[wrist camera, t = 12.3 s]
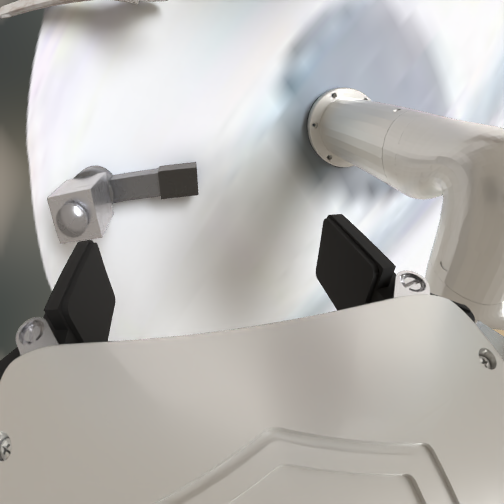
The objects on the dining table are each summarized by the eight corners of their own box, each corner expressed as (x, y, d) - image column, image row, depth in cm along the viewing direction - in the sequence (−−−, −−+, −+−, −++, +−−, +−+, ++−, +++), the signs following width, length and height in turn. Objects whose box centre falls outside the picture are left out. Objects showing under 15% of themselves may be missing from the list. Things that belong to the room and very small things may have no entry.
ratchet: (195, 150, 35) (196, 164, 29) (198, 198, 39) (201, 221, 32) (70, 170, 31) (48, 188, 25) (80, 214, 35) (63, 239, 29)
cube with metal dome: (105, 171, 30) (87, 191, 24) (113, 213, 34) (100, 241, 28) (66, 179, 29) (43, 201, 23) (76, 220, 33) (57, 247, 26)
